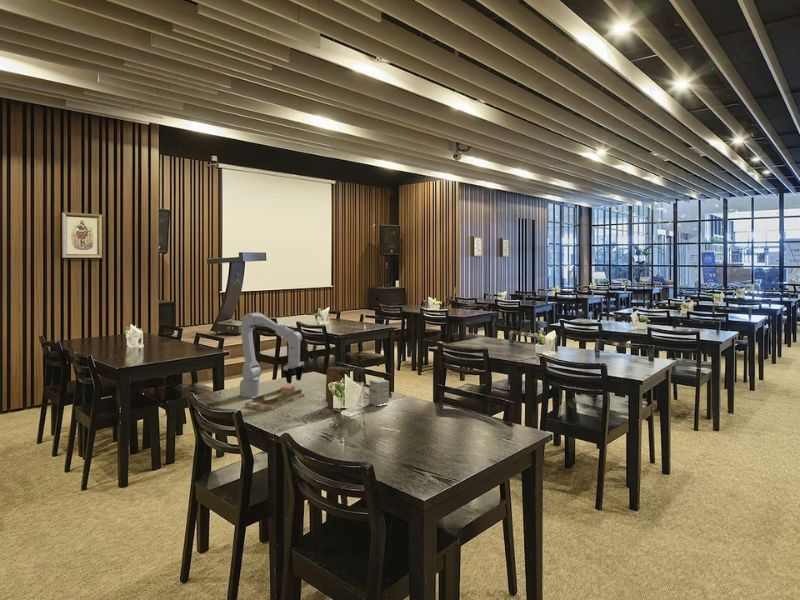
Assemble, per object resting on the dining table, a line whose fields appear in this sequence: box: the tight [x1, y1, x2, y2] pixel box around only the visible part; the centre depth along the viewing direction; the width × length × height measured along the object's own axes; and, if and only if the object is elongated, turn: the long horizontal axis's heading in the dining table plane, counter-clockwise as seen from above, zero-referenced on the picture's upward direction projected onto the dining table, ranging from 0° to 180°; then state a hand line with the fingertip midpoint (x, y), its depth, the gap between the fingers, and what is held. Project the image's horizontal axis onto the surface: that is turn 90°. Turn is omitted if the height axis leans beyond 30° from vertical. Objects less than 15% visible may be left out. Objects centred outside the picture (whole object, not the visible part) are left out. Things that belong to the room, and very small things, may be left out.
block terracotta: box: [280, 384, 296, 395], centre depth 266 cm, size 5×5×4 cm
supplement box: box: [368, 378, 390, 406], centre depth 258 cm, size 7×7×13 cm
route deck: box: [244, 388, 305, 412], centre depth 258 cm, size 14×29×4 cm, turn 155°
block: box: [325, 366, 349, 410], centre depth 251 cm, size 11×8×20 cm
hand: (293, 381), depth 261 cm, fingers open, 7 cm apart
